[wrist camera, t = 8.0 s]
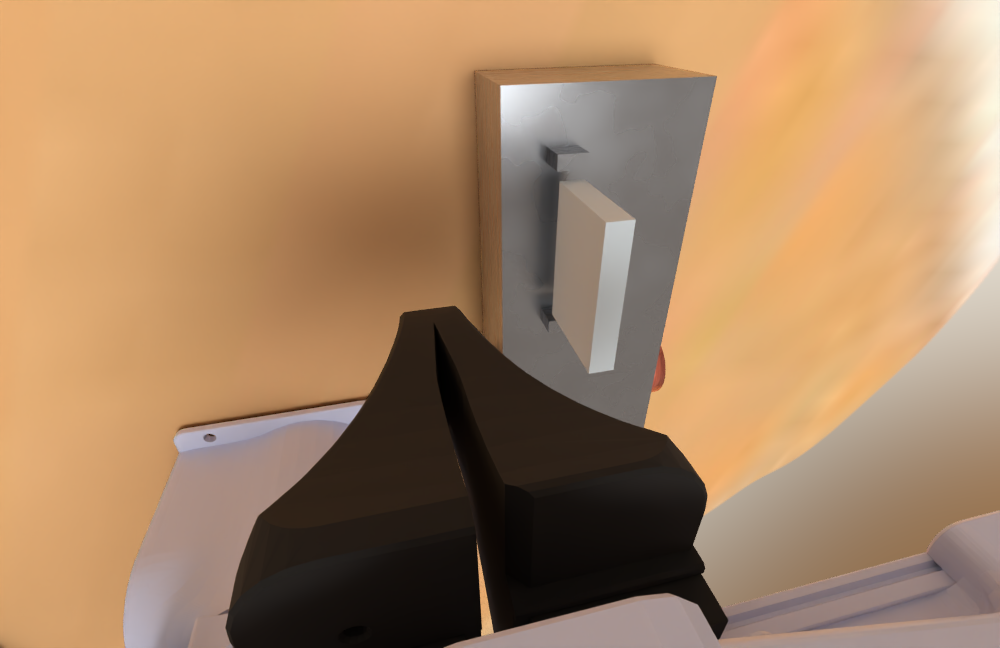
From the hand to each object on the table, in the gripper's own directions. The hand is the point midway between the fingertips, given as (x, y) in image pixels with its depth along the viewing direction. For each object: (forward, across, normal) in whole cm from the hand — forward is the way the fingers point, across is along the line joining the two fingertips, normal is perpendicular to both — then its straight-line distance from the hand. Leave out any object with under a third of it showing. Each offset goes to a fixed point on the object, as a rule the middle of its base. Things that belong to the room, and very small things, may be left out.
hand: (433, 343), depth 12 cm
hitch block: (+9, -6, +4) cm, 12 cm away
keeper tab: (+5, -5, 0) cm, 7 cm away
